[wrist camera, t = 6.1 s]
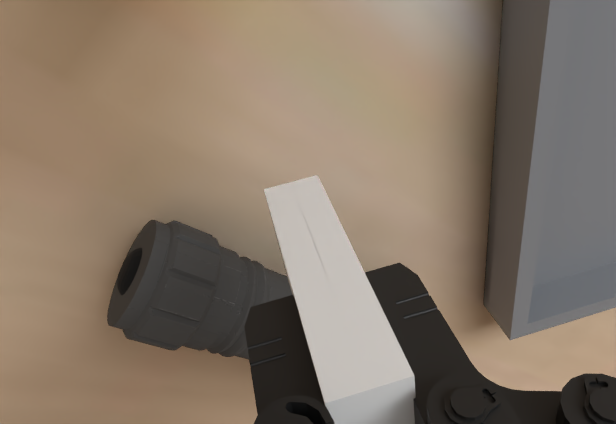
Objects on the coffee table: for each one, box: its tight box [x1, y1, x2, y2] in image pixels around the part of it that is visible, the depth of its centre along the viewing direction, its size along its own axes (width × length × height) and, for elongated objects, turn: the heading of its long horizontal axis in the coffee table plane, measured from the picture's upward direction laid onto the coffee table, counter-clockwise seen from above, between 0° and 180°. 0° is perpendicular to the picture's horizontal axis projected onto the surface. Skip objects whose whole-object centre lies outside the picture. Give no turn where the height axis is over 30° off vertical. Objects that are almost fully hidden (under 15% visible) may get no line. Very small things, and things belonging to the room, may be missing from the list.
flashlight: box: [107, 220, 293, 359], centre depth 23 cm, size 15×5×5 cm
